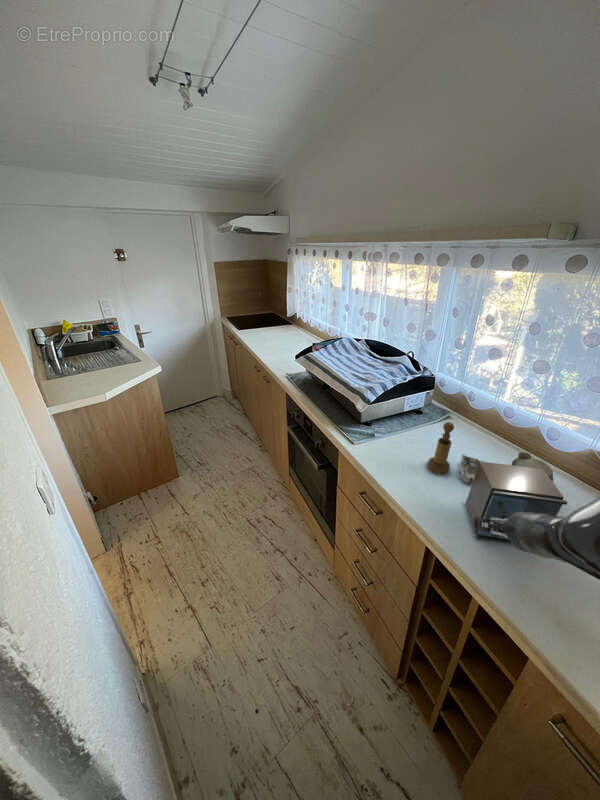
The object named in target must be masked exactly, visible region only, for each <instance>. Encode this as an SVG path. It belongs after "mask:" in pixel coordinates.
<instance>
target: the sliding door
mask: <svg viewBox="0 0 600 800" xmlns="http://www.w3.org/2000/svg"><path fill="white" fill-rule="evenodd" d="M526 504H527V500H523V499H516V498H509V497H501V496H494V495H492V496H491V499H490V502H489V504H488V507H487V509H486V512H485V514H484V517H483V518H487V519H491V518H499V519H504V518H507V519H508V518H509V517H510V516H511V515H512V514H514V513H516V512H523V511H524V508H525V506H526ZM498 522H503V521H498ZM490 523H491V522H490ZM497 525H498V524H497ZM478 535H484V536H490V537H495V538H503V539H508V538H505V537H504V536H500V535H495V534H492V533H491V532H486V531H483V530H478Z"/></svg>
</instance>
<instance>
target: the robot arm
mask: <svg viewBox="0 0 600 800" xmlns="http://www.w3.org/2000/svg"><path fill="white" fill-rule="evenodd" d="M498 521H503V522H498ZM490 522H491V523H490ZM497 524H498V525H497ZM474 528H475V529H477V530H478V529H479V530H483V531H486V532H491V533H492V534H495V535H500V536H504V537H505V538H508V539H509V540H510V542H511V543H512V544H511V545H513V547H515V548H516V549H518V550H520V551H522V552H525V553H528V554H531V555H534V556H537V557H541V558H544V559H549V560H554V561H558V562H561V563H565V564H569V565H571V566H573V567H575V568H577V569H578V570H580V571H582V572H584V573H585V574H588V575H589V576H591V577H593V578H595V579H597V580H599V581H600V496H599V497H597V498H596V499H594V500H592V501H591V502H589V503H587V504H585V505H583V506H581V507H579V508H578V509H576V510H573V511H572V512H570V513H569V514H568V515H566V516H558V515H557V516H551V515H548V514H543V513H532V512H516V513H514V514H512V515H511V516H510V517H509V518H508V519H507V518H504V519H499V518H491V519H487V518H478V517H474Z"/></svg>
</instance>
